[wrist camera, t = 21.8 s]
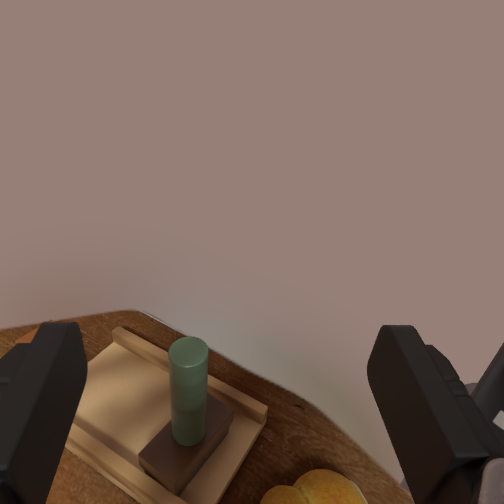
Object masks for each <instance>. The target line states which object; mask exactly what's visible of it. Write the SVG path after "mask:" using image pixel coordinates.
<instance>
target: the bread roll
mask: <svg viewBox="0 0 504 504" xmlns="http://www.w3.org/2000/svg"><path fill="white" fill-rule="evenodd" d="M260 504H368V503H367V501H366V499H365V498H364V496H363V495H362V493H361V491H360V489H359V488H358V486H357V485H356V484H355V483H354V482H353V481H351V480H348V479H347V478H345V477H344V476H342V475H341V474H339V473H336V472H334V471H331V470H326V469H317V470H312V471H309V472H307V473H305V474H304V475H302V476H301V477H299V479H298V480H297V481H296V482H295V483H294V485H293V486H286V485H278V486H275V487H273V488H271V489H270V490H268V491H267V492H266V493H265V495H264V496H263V498H262V500H261V502H260Z"/></svg>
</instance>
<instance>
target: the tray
mask: <svg viewBox="0 0 504 504" xmlns="http://www.w3.org/2000/svg"><path fill="white" fill-rule="evenodd" d="M112 336H113V343H112V344H110V345H109V346H108V347H107V348H106V349H104V350H103V351H102V352H101V353H100V354H98V355H97V356H96V357H95V358H93V359H92V360H91V361H90V362H89V363H87V364H88V372H87V380H86V384H85V388H84V391H83V394H82V397H81V400H80V403H79V406H78V408H77V411H76V414H75V417H74V420H73V423H72V426H71V429H70V432H69V435H68V438H67V441H66V444H65V447H66V448H67V449H68V450H70V451H71V452H72V453H74V454H75V455H76V456H78V457H79V458H80V459H82V460H83V461H84V462H86V463H87V464H88V465H90V466H91V467H92V468H94V469H95V470H96V471H98V472H99V473H100V474H102V475H103V476H104V477H106V478H107V479H108V480H110V481H111V482H112V483H114V484H115V485H117V486H118V487H119V488H121V489H122V490H123V491H125V492H126V493H127V494H129V495H130V496H131V497H133V498H134V499H135V500H137V501H138V502H139V503H141V504H219V502H220V500H221V498H222V497H223V495H224V493H225V492H226V490H227V488H228V487H229V485H230V483H231V481H232V480H233V478H234V476H235V475H236V473H237V471H238V470H239V468H240V466H241V464H242V463H243V461H244V459H245V458H246V456H247V454H248V453H249V451H250V449H251V447H252V446H253V444H254V442H255V441H256V439H257V437H258V436H259V434H260V432H261V430H262V429H263V427H264V425H265V423H266V417H267V412H268V406H266V405H264V404H262V403H261V402H259V401H257V400H255V399H253V398H251V397H249V396H248V395H246V394H244V393H242V392H240V391H238V390H237V389H235V388H233V387H231V386H229V385H227V384H225V383H224V382H222V381H220V380H218V379H216V378H214V377H212V376H211V375H209V374H208V384H207V392H208V393H209V394H211V395H212V396H214V397H215V398H217V399H218V400H220V401H221V402H223V403H224V404H226V405H227V406H229V407H230V408H232V409H233V410H234V418H233V422H232V423H231V425H230V426H229V433H228V434H227V436H226V437H225V438H224V439H223V441H222V442H221V443H220V445H219V446H218V447H217V448H216V450H215V451H214V452H213V454H212V455H211V456H210V457H209V459H208V460H207V461H206V462H205V464H204V465H203V466H202V468H201V469H200V470H199V471H198V473H197V474H196V475H195V477H194V478H193V479H192V480H191V482H190V483H189V484H188V486H187V487H186V488H185V489H184V491H183V492H182V493H181V494H180V496H179V497H178V496H176V495H174V494H173V493H172V492H171V491H169V490H168V489H166V488H165V487H164V486H162V485H161V484H159V483H158V482H157V481H155V480H154V479H152V478H151V477H149V476H148V475H147V474H145V472H144V469H143V468H142V467H141V466H140V465H139V458H138V454H139V453H140V451H141V450H142V449H143V448H144V447H145V446H146V445H147V444H148V443H149V442H150V441H151V440H152V439H153V438H154V437H155V436H156V435H157V434H158V433H159V432H160V431H161V430H162V428H163V427H164V426H165V425H166V424H167V423H168V422H169V421H170V420H171V400H170V380H169V360H168V352H166V351H164V350H162V349H160V348H159V347H157V346H155V345H153V344H151V343H149V342H148V341H146V340H144V339H142V338H140V337H138V336H136V335H135V334H133V333H131V332H129V331H127V330H125V329H123V328H122V327H120V326H118V327H116V328H115V329H114V330H113V331H112Z"/></svg>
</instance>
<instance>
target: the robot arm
mask: <svg viewBox="0 0 504 504" xmlns="http://www.w3.org/2000/svg"><path fill="white" fill-rule="evenodd" d="M87 372H88V364H87V358H86V354H85V350H84V346H83V341H82V337H81V333H80V328H79V325H78V323H77V322H43V323H42V324H41V325H40V327H39V328H38V330H37V332H36V334H35V336H34V338H33V339H32V341H31V343H18V344H17V345H16V346H15V347H13V348H12V349H11V350H10V351H9V352H8V353H7V354H6V355H4V356H3V357H2V358H1V359H0V504H45V503H46V500H47V497H48V494H49V491H50V488H51V485H52V482H53V479H54V476H55V474H56V471H57V468H58V465H59V462H60V459H61V456H62V453H63V450H64V447H65V444H66V441H67V438H68V435H69V432H70V429H71V426H72V423H73V420H74V417H75V414H76V411H77V408H78V406H79V403H80V400H81V397H82V394H83V391H84V388H85V384H86V380H87ZM367 376H368V381H369V385H370V387H371V390H372V393H373V395H374V398H375V401H376V403H377V406H378V408H379V411H380V414H381V416H382V419H383V421H384V424H385V427H386V429H387V432H388V434H389V437H390V440H391V442H392V445H393V447H394V450H395V453H396V455H397V458H398V460H399V463H400V466H401V468H402V471H403V473H404V476H405V479H406V481H407V484H408V486H409V489H410V492H411V494H412V497H413V500H414V502H415V504H504V343H503V344H502V346H501V347H500V349H499V351H498V352H497V354H496V356H495V357H494V359H493V360H492V362H491V363H490V365H489V367H488V368H487V370H486V371H485V373H484V374H483V376H482V377H481V379H480V380H479V382H478V384H477V385H476V387H475V388H474V390H473V391H472V393H471V394H470V395H469V394H468V393H469V392H468V390H467V389H466V387H465V385H464V384H463V383H462V381H460V380H459V376H458V374H457V373H456V371H455V369H454V368H453V366H452V365H451V363H450V361H449V360H448V359H447V358H446V357H445V356H443V354H441V353H440V352H439V351H438V350H437V349H436V348H435V347H434V346H432V345H425V344H424V342H423V341H422V339H421V337H420V336H419V334H418V332H417V330H416V329H415V328H414V327H413V326H411V325H383V326H382V327H381V328H380V331H379V333H378V336H377V339H376V341H375V344H374V347H373V350H372V352H371V355H370V358H369V360H368V365H367Z"/></svg>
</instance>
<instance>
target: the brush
mask: <svg viewBox="0 0 504 504" xmlns="http://www.w3.org/2000/svg"><path fill="white" fill-rule="evenodd" d="M208 355H209V350H208V347H207V345H206V343H205V342H204V341H202V340H201V339H199V338H196V337H183V338H180V339H178V340H176V341H175V342H174V343H172V345H171V346H170V348H169V351H168V360H169V380H170V400H171V420H170V421H169V422H168V423H167V424H166V425H165V426H164V427H163V428H162V430H161V431H160V432H159V433H158V434H157V435H156V436H155V437H154V438H153V439H152V440H151V441H150V442H149V443H148V444H147V445H146V446H145V447H144V448H143V449H142V450H141V451H140V453H139V454H138V458H139V465H140V466H141V467H142V468H143V469H144V472H145V474H147V475H148V476H149V477H151V478H152V479H154V480H155V481H157V482H158V483H159V484H161V485H162V486H164V487H165V488H166V489H168V490H169V491H171V492H172V493H173V494H174V495H176V496H178V497H179V496H180V494H181V493H182V492H183V491H184V489H185V488H186V487H187V486H188V484H189V483H190V482H191V480H192V479H193V478H194V477H195V475H196V474H197V473H198V471H199V470H200V469H201V468H202V466H203V465H204V464H205V462H206V461H207V460H208V459H209V457H210V456H211V455H212V454H213V452H214V451H215V450H216V448H217V447H218V446H219V445H220V443H221V442H222V441H223V439H224V438H225V437H226V436H227V434H228V433H229V426H230V425H231V423H232V422H233V418H234V410H233V409H232V408H230V407H229V406H227V405H226V404H224V403H223V402H221V401H220V400H218V399H217V398H215V397H214V396H212V395H211V394H209V393H208V392H207V384H208Z"/></svg>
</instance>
